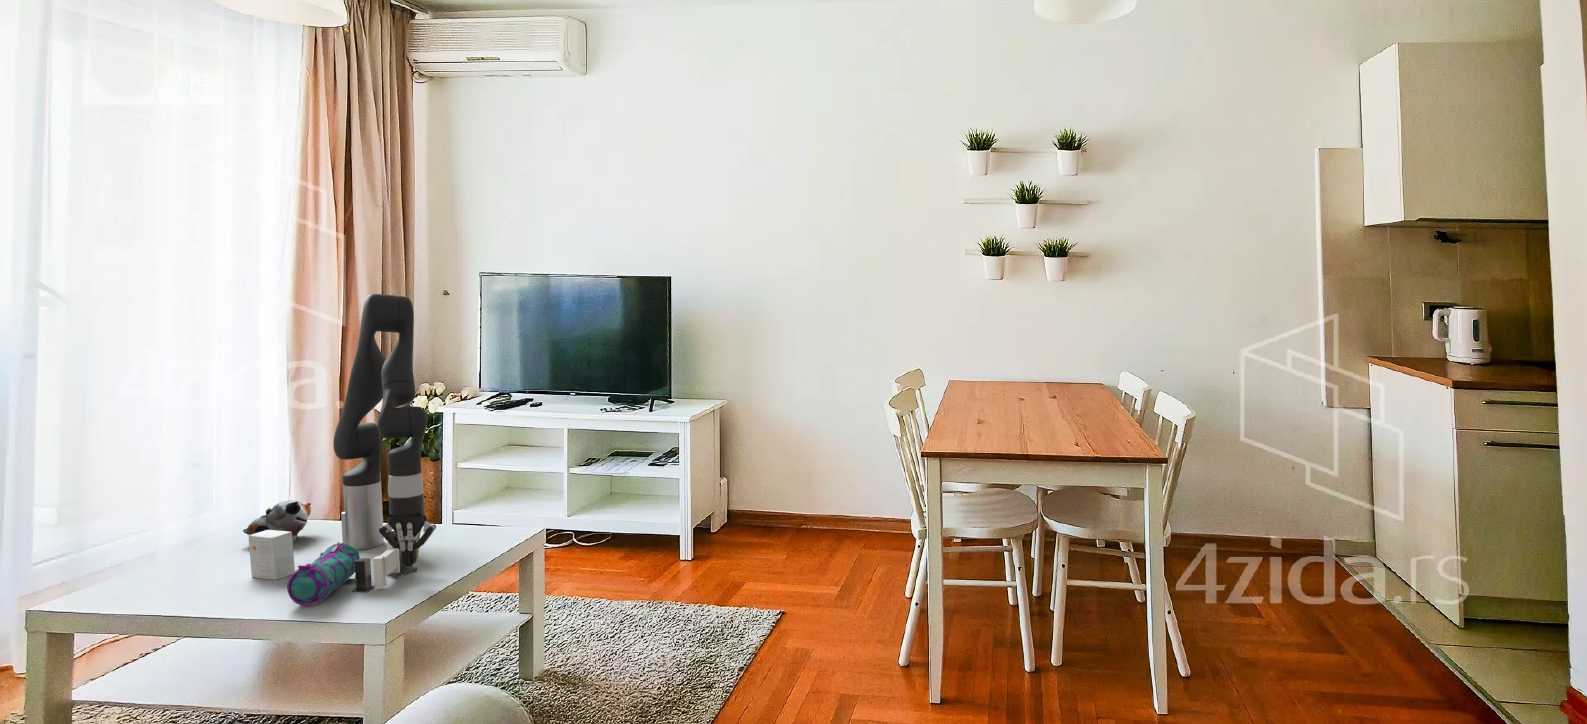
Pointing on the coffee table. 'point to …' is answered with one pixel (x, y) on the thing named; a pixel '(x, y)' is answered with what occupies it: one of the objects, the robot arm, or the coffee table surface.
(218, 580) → the coffee table surface
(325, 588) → the pencil case
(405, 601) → the coffee table surface
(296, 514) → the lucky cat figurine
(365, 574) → the post
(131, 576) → the coffee table surface
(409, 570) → the post
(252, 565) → the small box
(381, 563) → the gate
